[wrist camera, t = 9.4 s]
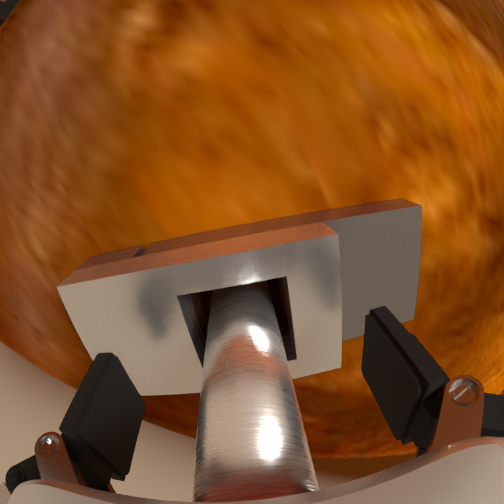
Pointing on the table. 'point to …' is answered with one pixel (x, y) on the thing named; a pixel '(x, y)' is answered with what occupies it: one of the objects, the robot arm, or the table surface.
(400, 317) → the chain link
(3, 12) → the ammunition clip
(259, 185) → the table surface
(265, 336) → the pin
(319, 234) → the chain link
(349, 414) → the table surface
